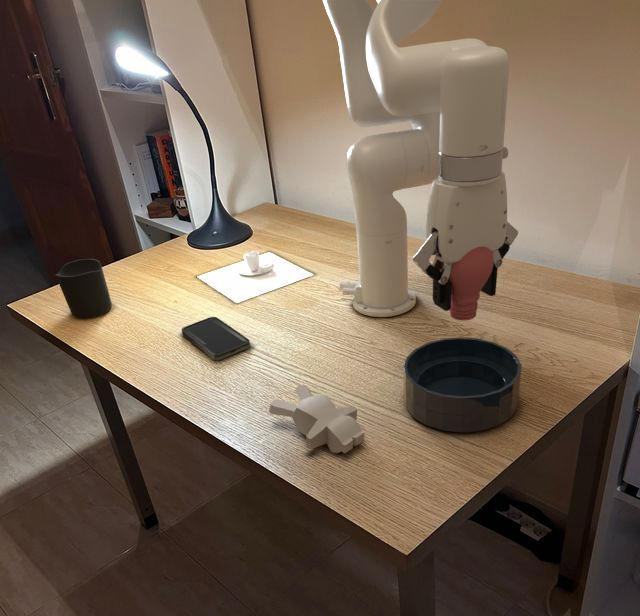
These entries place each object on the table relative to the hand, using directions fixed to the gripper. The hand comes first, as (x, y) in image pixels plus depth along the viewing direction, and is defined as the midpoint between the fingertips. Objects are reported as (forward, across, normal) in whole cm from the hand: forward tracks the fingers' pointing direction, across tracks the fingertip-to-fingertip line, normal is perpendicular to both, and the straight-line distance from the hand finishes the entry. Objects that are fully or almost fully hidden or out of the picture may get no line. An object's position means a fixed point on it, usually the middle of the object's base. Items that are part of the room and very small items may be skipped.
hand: (464, 298), depth 87 cm
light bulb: (+3, 0, 0) cm, 3 cm away
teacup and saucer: (+17, +9, -67) cm, 70 cm away
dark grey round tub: (+17, 0, 0) cm, 17 cm away
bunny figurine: (+18, +22, -5) cm, 28 cm away
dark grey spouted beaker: (+17, +45, -72) cm, 87 cm away
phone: (+17, +26, -42) cm, 53 cm away
